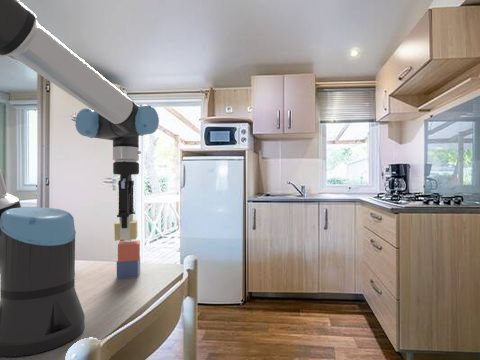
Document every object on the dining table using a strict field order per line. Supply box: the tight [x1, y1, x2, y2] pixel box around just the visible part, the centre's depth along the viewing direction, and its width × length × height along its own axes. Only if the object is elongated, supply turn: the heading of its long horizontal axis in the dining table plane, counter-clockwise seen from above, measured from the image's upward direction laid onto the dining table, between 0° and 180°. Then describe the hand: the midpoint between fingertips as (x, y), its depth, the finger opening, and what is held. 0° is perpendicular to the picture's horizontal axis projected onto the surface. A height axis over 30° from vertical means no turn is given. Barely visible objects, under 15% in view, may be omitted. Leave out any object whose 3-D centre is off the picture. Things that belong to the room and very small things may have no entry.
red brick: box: [117, 239, 141, 262], centre depth 98 cm, size 6×6×5 cm
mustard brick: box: [113, 219, 138, 241], centre depth 98 cm, size 6×6×5 cm
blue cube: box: [116, 257, 141, 279], centre depth 98 cm, size 6×6×5 cm
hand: (126, 236), depth 98 cm, fingers closed on mustard brick, 6 cm apart
